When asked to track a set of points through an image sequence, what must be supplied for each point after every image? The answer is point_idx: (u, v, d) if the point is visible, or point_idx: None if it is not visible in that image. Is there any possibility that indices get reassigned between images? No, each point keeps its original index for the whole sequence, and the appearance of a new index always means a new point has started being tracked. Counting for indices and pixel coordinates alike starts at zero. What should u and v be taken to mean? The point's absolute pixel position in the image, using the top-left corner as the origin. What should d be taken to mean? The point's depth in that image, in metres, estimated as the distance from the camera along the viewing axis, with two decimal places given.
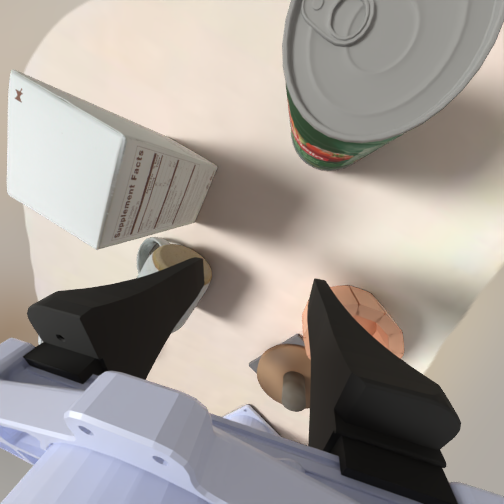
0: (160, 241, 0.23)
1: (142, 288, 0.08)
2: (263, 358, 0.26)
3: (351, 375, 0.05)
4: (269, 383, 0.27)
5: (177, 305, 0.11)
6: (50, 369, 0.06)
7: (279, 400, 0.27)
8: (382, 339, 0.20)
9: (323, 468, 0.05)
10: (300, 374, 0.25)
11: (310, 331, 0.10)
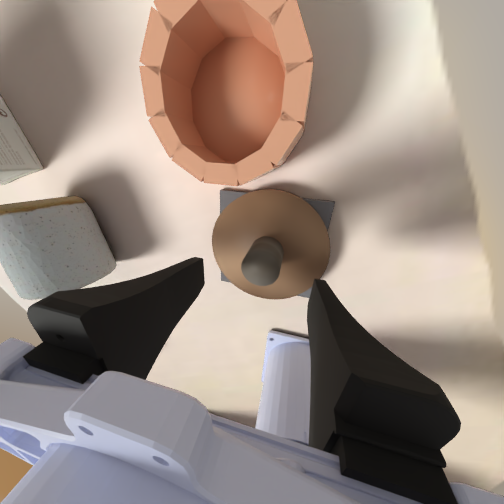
0: None
1: (142, 288, 0.08)
2: (215, 254, 0.18)
3: (351, 375, 0.05)
4: None
5: (177, 305, 0.11)
6: (50, 369, 0.06)
7: (282, 295, 0.18)
8: (274, 42, 0.10)
9: (323, 468, 0.05)
10: (265, 236, 0.16)
11: (310, 331, 0.10)
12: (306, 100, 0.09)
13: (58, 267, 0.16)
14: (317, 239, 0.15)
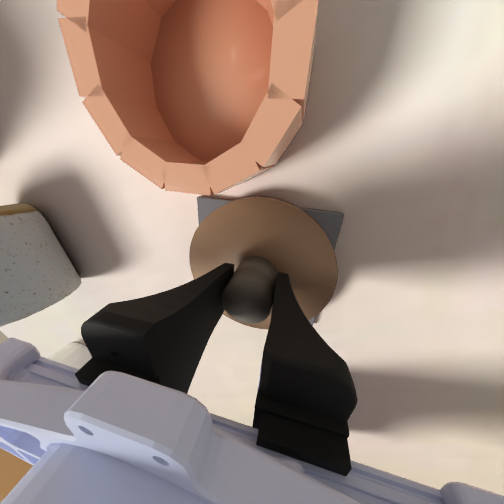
0: None
1: (188, 298, 0.08)
2: (194, 276, 0.14)
3: (263, 352, 0.05)
4: None
5: (213, 313, 0.10)
6: None
7: None
8: None
9: (241, 439, 0.05)
10: (255, 256, 0.12)
11: None
12: (307, 65, 0.06)
13: None
14: (321, 261, 0.11)
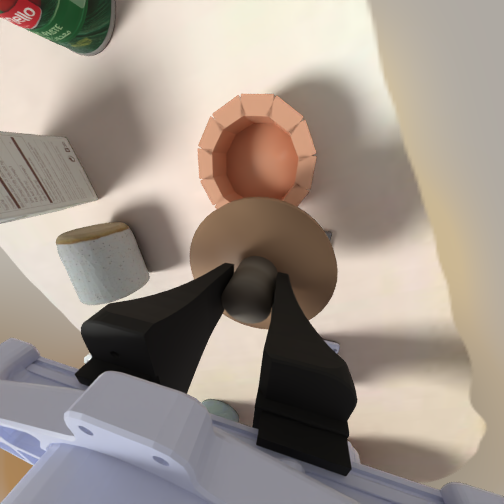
0: None
1: (188, 298, 0.08)
2: (194, 276, 0.14)
3: (264, 352, 0.05)
4: None
5: (213, 313, 0.10)
6: None
7: None
8: (290, 135, 0.15)
9: (241, 439, 0.05)
10: (255, 256, 0.12)
11: None
12: (311, 177, 0.14)
13: (113, 280, 0.21)
14: (321, 261, 0.12)
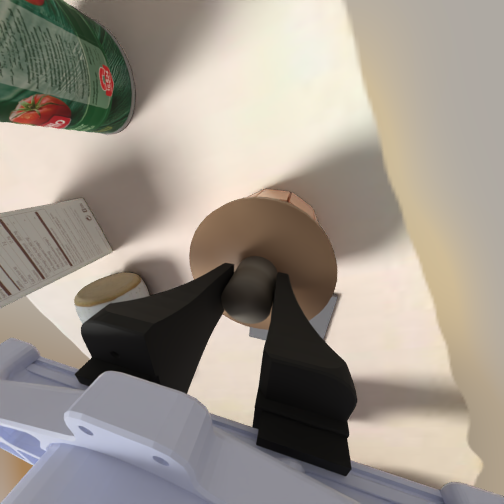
0: None
1: (188, 298, 0.08)
2: (194, 276, 0.14)
3: (263, 352, 0.05)
4: None
5: (213, 313, 0.10)
6: None
7: None
8: None
9: (241, 439, 0.05)
10: (254, 256, 0.12)
11: None
12: None
13: None
14: (321, 261, 0.11)
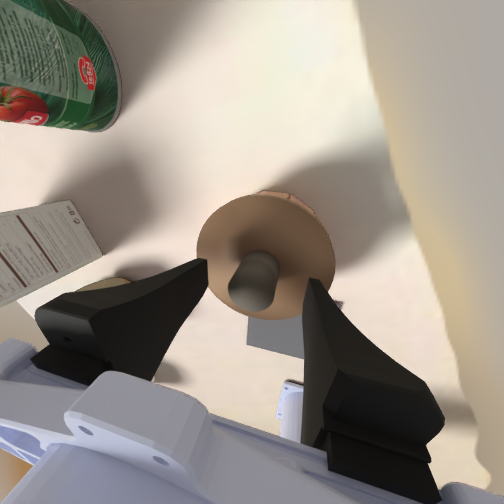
0: None
1: (148, 289, 0.08)
2: None
3: (338, 372, 0.05)
4: None
5: (182, 306, 0.11)
6: (57, 372, 0.06)
7: (279, 315, 0.15)
8: None
9: (311, 464, 0.05)
10: (258, 250, 0.13)
11: (304, 330, 0.10)
12: None
13: None
14: (320, 254, 0.12)
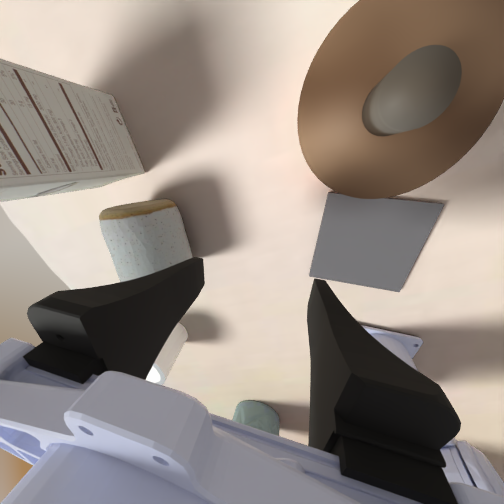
0: None
1: (142, 288, 0.08)
2: (300, 129, 0.12)
3: (351, 375, 0.05)
4: (351, 171, 0.12)
5: (177, 305, 0.11)
6: (50, 369, 0.06)
7: (397, 188, 0.12)
8: None
9: (323, 468, 0.05)
10: None
11: (310, 331, 0.10)
12: None
13: (164, 264, 0.18)
14: (492, 63, 0.09)
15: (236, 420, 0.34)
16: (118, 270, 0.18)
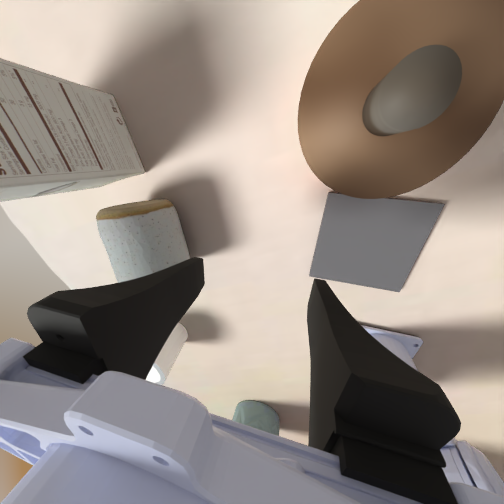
0: None
1: (142, 288, 0.08)
2: (300, 128, 0.12)
3: (351, 375, 0.05)
4: (351, 171, 0.12)
5: (177, 305, 0.11)
6: (50, 369, 0.06)
7: (397, 188, 0.12)
8: None
9: (323, 468, 0.05)
10: None
11: (310, 331, 0.10)
12: None
13: (161, 264, 0.18)
14: (492, 63, 0.09)
15: (236, 420, 0.34)
16: (115, 270, 0.18)
